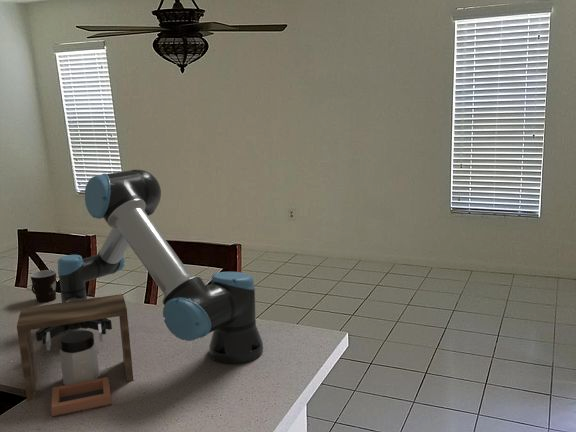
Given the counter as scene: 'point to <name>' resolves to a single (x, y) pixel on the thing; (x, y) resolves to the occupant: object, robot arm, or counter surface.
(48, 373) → the counter surface
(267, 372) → the counter surface
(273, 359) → the counter surface
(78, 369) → the jar
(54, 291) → the coffee mug
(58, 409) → the tray
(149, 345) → the counter surface
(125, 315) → the archway
